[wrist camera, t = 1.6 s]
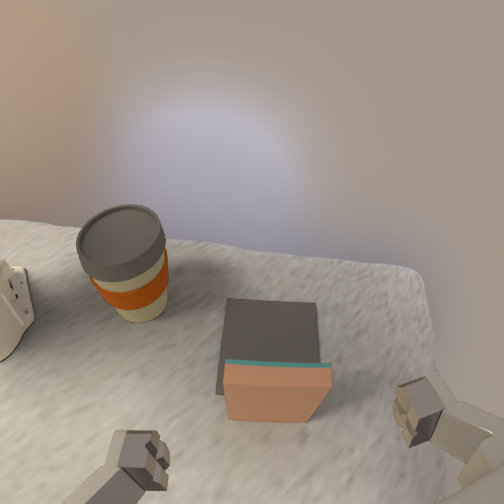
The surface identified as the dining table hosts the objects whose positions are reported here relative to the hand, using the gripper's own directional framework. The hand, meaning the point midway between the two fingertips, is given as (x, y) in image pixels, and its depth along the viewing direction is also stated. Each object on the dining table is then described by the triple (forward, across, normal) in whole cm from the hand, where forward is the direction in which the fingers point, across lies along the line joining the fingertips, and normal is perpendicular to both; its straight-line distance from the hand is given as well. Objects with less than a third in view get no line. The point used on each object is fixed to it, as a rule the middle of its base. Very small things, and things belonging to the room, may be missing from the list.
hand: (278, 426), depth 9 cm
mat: (+30, 0, +21) cm, 37 cm away
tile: (+20, +2, +25) cm, 32 cm away
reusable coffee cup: (+38, +19, +14) cm, 45 cm away
